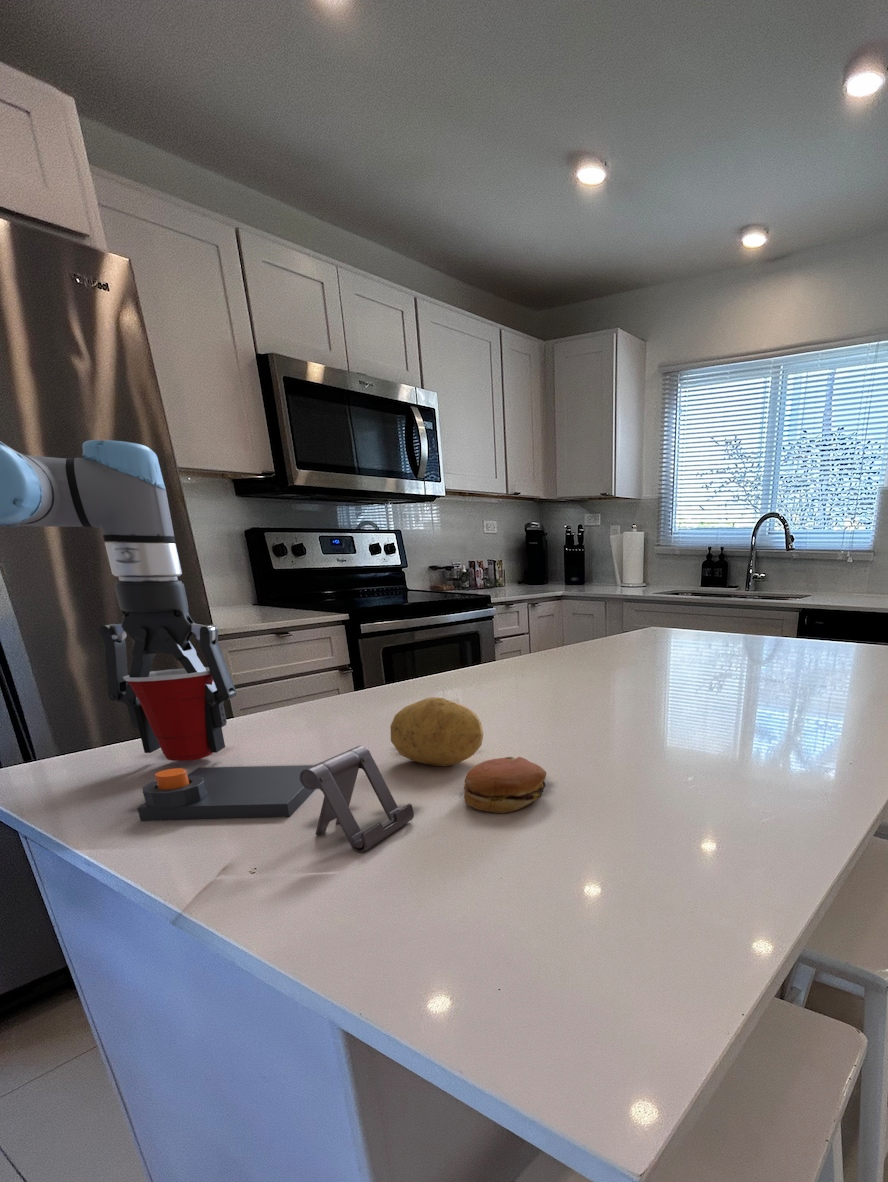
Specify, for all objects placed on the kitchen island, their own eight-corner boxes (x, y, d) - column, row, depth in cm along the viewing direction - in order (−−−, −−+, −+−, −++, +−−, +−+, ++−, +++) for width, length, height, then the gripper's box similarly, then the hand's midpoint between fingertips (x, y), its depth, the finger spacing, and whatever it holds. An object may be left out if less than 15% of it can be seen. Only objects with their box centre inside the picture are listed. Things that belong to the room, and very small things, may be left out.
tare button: (153, 792, 73) (149, 777, 72) (167, 782, 75) (163, 768, 75) (181, 791, 73) (177, 776, 72) (194, 782, 76) (191, 767, 75)
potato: (414, 688, 96) (374, 694, 87) (496, 699, 92) (463, 707, 84) (414, 751, 99) (375, 764, 90) (494, 765, 95) (462, 779, 86)
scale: (138, 823, 72) (130, 793, 71) (201, 779, 86) (195, 754, 84) (288, 819, 74) (283, 790, 72) (327, 777, 87) (323, 751, 86)
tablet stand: (366, 855, 65) (355, 775, 62) (300, 845, 67) (286, 767, 64) (414, 822, 73) (407, 750, 70) (354, 814, 75) (344, 743, 72)
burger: (464, 816, 74) (462, 777, 73) (465, 789, 83) (463, 753, 81) (551, 811, 76) (550, 773, 74) (543, 785, 85) (542, 750, 83)
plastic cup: (210, 740, 99) (193, 660, 95) (247, 753, 93) (231, 668, 89) (129, 756, 91) (107, 670, 87) (164, 772, 85) (143, 679, 81)
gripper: (40, 579, 79) (89, 758, 88) (220, 581, 81) (252, 757, 89) (81, 576, 86) (122, 743, 95) (245, 579, 88) (273, 742, 96)
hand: (185, 749), depth 92 cm, fingers closed on plastic cup, 8 cm apart
